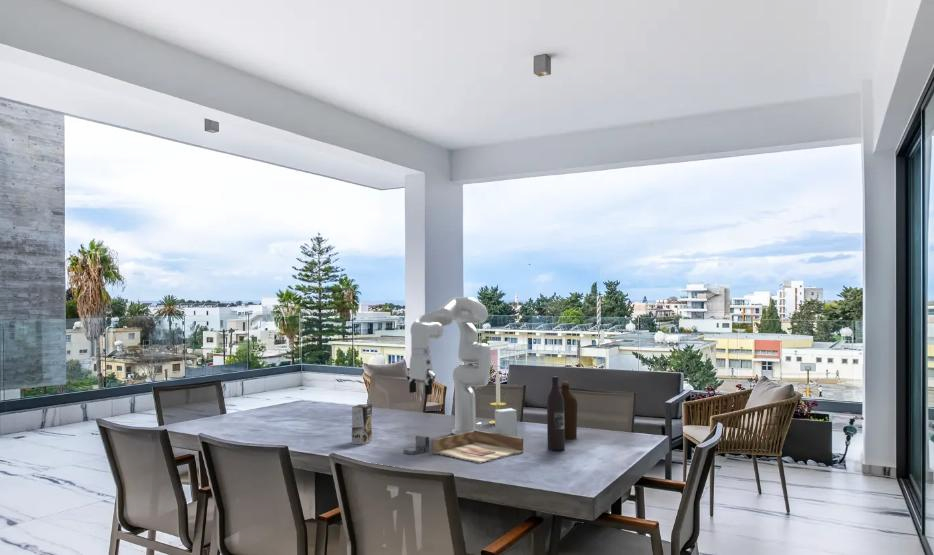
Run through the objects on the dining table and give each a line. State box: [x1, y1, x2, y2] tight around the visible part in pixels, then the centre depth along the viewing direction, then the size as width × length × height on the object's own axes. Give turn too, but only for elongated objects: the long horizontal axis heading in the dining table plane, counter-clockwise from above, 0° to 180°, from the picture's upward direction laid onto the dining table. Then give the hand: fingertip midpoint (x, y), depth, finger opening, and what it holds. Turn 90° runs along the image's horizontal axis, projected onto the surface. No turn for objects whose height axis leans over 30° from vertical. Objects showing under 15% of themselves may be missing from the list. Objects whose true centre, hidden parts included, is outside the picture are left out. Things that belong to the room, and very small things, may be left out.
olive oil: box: [560, 380, 578, 440], centre depth 288 cm, size 11×11×25 cm
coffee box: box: [351, 403, 373, 445], centre depth 280 cm, size 9×6×16 cm
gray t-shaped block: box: [403, 434, 430, 456], centre depth 260 cm, size 9×6×6 cm, turn 137°
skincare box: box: [494, 407, 518, 437], centre depth 274 cm, size 8×6×15 cm
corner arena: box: [432, 429, 524, 464], centre depth 258 cm, size 26×26×6 cm
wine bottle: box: [546, 375, 566, 452], centre depth 264 cm, size 7×7×30 cm
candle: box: [488, 370, 507, 425], centre depth 325 cm, size 10×10×27 cm
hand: (420, 393), depth 264 cm, fingers open, 9 cm apart
